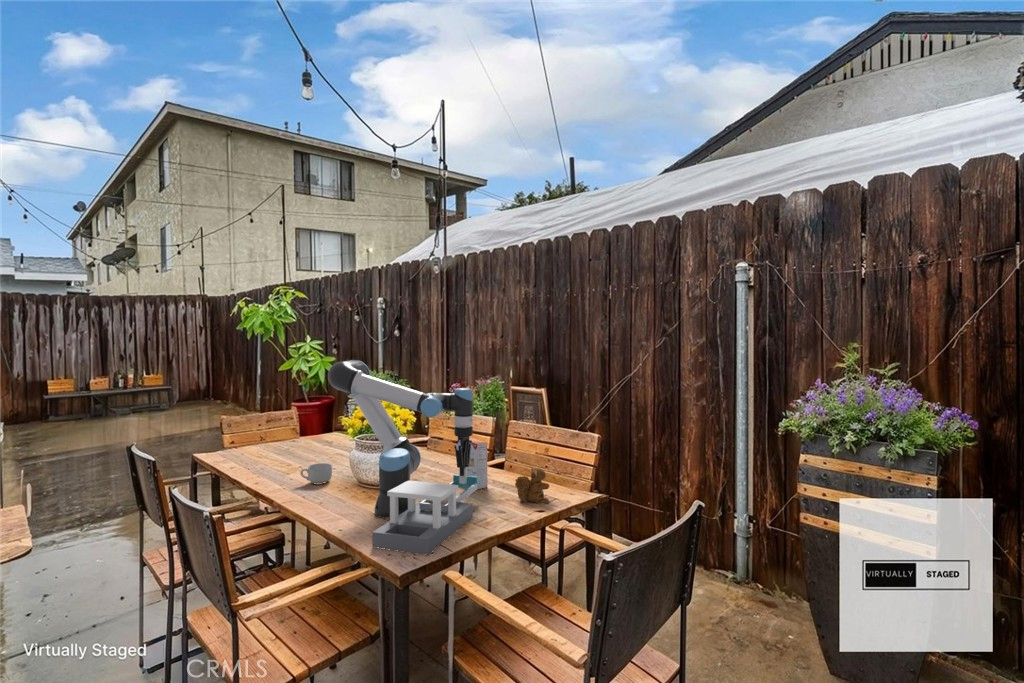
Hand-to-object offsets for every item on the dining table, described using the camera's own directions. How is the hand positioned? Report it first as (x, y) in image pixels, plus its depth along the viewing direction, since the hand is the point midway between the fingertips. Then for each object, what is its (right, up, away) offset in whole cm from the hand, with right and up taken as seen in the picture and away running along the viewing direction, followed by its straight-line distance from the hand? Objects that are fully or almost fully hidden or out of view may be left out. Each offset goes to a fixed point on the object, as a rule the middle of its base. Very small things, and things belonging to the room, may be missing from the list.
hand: (463, 483), depth 208 cm
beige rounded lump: (-6, -3, -21) cm, 22 cm away
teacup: (-71, -8, +28) cm, 77 cm away
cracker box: (+3, -8, +23) cm, 25 cm away
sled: (-4, -3, -12) cm, 13 cm away
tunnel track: (-10, -8, -32) cm, 34 cm away
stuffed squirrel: (+29, -8, +2) cm, 30 cm away
